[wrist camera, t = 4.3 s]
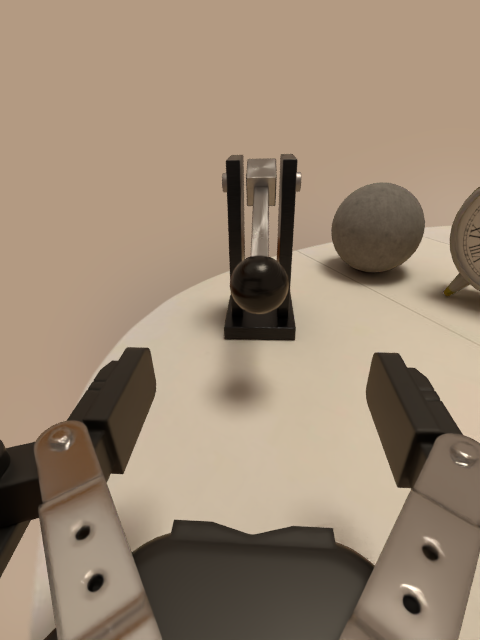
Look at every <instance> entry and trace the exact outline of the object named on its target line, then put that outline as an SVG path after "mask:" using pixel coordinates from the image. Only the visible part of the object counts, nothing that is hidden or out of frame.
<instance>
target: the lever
mask: <svg viewBox="0 0 480 640" xmlns="http://www.w3.org/2000/svg"><path fill="white" fill-rule="evenodd" d="M246 186H247V206H253V217H252V238H251V257H248V258H246V259H244V260H243V261H241V262H240V263H239V264H238V265H237V266H236V268H235V269H234V271H233V273H232V276H231V280H230V290H231V294H232V297H233V299H234V300H235V302H236V303H237V305H239V306H240V307H241V308H242V309H243V310H245V311H247V312H250V313H253V314H265V313H269V312H271V311H273V310H275V309H276V308H278V307H279V306H280V305H281V304H282V303H283V301H284V300H285V298H286V295H287V293H288V287H289V282H288V276H287V274H286V271H285V269H284V268H283V267H282V265H281V264H280V263H279V262H277V261H276V260H275V259H273V258H271V257H269V206H275V199H276V159H275V158H273V159H248V161H247V175H246Z"/></svg>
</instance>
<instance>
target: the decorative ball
mask: <svg viewBox="0 0 480 640" xmlns="http://www.w3.org/2000/svg"><path fill="white" fill-rule="evenodd" d="M424 227H425V220H424V214H423V210H422V208H421V205H420V203H419V202H418V200H417V199H416V198H415V196H414V195H413V194H412V193H410V192H409V191H408V190H406V189H405V188H403V187H401V186H398V185H395V184H391V183H374V184H370V185H366V186H364V187H361V188H359V189H357V190H356V191H354V192H353V193H351V194H350V195H349V196H348V197H347V198H346V199H345V200H344V201H343V202H342V204H341V205H340V206H339V208H338V210H337V212H336V214H335V216H334V219H333V223H332V241H333V244H334V247H335V250H336V251H337V253H338V255H339V256H340V257H341V259H342V260H343V261H345V262H346V263H347V264H348V265H350V266H351V267H353V268H355V269H358V270H361V271H365V272H383V271H387V270H390V269H393V268H395V267H397V266H399V265H401V264H402V263H404V262H405V261H406V260H408V259H409V258H410V257H411V256H412V255H413V253H414V252H415V251H416V249H417V248H418V246H419V244H420V242H421V240H422V237H423V233H424Z"/></svg>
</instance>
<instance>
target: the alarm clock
mask: <svg viewBox="0 0 480 640" xmlns="http://www.w3.org/2000/svg"><path fill="white" fill-rule="evenodd" d="M450 251H451V255H452V259H453V262H454V264H455V266H456V268H457V270H458V272H459V274H458V275H457V276H456V278H455V279H454V280H453V281H452V282H451V283H450V284H449V286H448V287H447V288H446V289H445V290H444V291H443V292H444V294H445V295H446V296H450V295H452V294H454V293H456V292H457V291H459V290H461V289H463V288H465V287H466V286H468V285H472V286H473V287H474V288H475V289H477V290H479V291H480V187H478V188H477V189H476V190H475V191H474V192H473V193H472V194H471V195H470V196H469V198H468V199H467V200H466V201H465V202H464V204H463V205H462V207H461V208H460V210H459V211H458V213H457V215H456V217H455V220H454V222H453V225H452V228H451V234H450Z"/></svg>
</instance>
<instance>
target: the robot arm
mask: <svg viewBox="0 0 480 640" xmlns="http://www.w3.org/2000/svg"><path fill="white" fill-rule="evenodd" d="M155 392H156V379H155V373H154V368H153V363H152V357H151V352H150V350H149V348H134V347H128V348H126V349H125V351H124V352H123V354H122V356H121V357H120V359H119V361H111V362H110V363H109V364H107V365H106V366H105V367H103V368H102V369H101V370H100V371H99V373H98V374H97V376H96V377H95V379H94V382H92V383H91V385H90V386H89V388H88V390H87V391H86V392H85V394H84V395H83V397H82V398H81V400H80V401H79V403H78V404H77V406H76V407H75V409H74V410H73V412H72V413H71V415H70V416H69V418H68V419H67V421H65V422H60V423H58V424H55V425H53V426H51V427H50V428H48V429H47V430H45V431H44V432H43V433H42V434H41V435H40V436H39V437H38V439H37V440H36V442H33V443H29V444H24V445H19V446H15V447H10V448H5V446H4V444H3V442H2V441H1V440H0V577H1V576H2V573H3V571H4V570H5V568H6V566H7V564H8V562H9V560H10V559H11V557H12V555H13V553H14V551H15V549H16V547H17V545H18V543H19V542H20V540H21V538H22V536H23V534H24V532H25V530H26V528H27V527H28V525H29V523H30V521H31V520H33V519H36V518H39V519H40V525H41V532H42V539H43V545H44V552H45V558H46V565H47V572H48V578H49V585H50V591H51V598H52V605H53V611H54V618H55V624H56V628H55V629H54V630H53V631H52V632H51V633H50V634H49V635H48V636H47V637H46V638H45V639H44V640H458V638H459V634H460V630H461V626H462V622H463V618H464V614H465V610H466V606H467V602H468V598H469V594H470V589H471V585H472V581H473V577H474V573H475V569H476V565H477V561H478V557H479V553H480V443H479V442H477V441H475V440H473V439H471V438H469V437H467V436H464V435H463V434H462V433H461V431H460V430H459V428H458V426H457V425H456V423H455V422H454V420H453V418H452V417H451V415H450V414H449V412H448V410H447V409H446V407H445V406H444V404H443V402H442V401H440V398H439V396H438V395H437V393H436V391H434V388H433V387H432V385H431V383H430V382H429V380H428V379H427V377H425V376H424V375H423V374H422V373H420V372H419V371H418V370H417V369H415V368H407V367H406V365H405V363H404V361H403V360H402V358H401V356H400V355H399V354H398V353H374V355H373V358H372V362H371V367H370V372H369V377H368V381H367V386H366V399H367V404H368V407H369V410H370V412H371V415H372V418H373V421H374V423H375V426H376V429H377V432H378V435H379V437H380V440H381V443H382V446H383V449H384V451H385V454H386V457H387V460H388V462H389V465H390V468H391V471H392V474H393V476H394V479H395V482H396V485H397V487H399V488H411V491H410V493H409V495H408V497H407V499H406V501H405V503H404V505H403V508H402V510H401V512H400V514H399V516H398V518H397V520H396V522H395V524H394V527H393V529H392V531H391V533H390V535H389V537H388V539H387V541H386V544H385V546H384V548H383V550H382V552H381V554H380V556H379V558H378V561H377V563H376V565H375V566H374V565H373V564H372V563H371V562H370V561H369V560H367V559H366V558H365V557H363V556H362V555H361V554H359V553H357V552H356V551H354V550H352V549H351V548H349V547H346V546H344V545H342V544H340V543H337V542H335V539H334V533H333V528H319V527H300V526H291V527H287V528H282V529H278V530H273V531H269V532H264V533H260V534H254V535H251V534H247V533H244V532H241V531H238V530H235V529H232V528H229V527H226V526H223V525H220V524H217V523H214V522H206V521H187V520H174V523H173V527H172V531H171V533H169V534H165V535H162V536H160V537H157V538H155V539H153V540H151V541H149V542H147V543H145V544H144V545H142V546H140V547H139V548H137V549H136V550H135V551H134V552H132V553H131V550H130V547H129V545H128V542H127V539H126V536H125V533H124V531H123V528H122V525H121V522H120V519H119V516H118V514H117V511H116V508H115V505H114V502H113V500H112V497H111V494H110V491H109V488H108V486H107V481H108V479H109V476H110V474H123V473H124V471H125V468H126V466H127V464H128V461H129V459H130V456H131V454H132V451H133V449H134V446H135V444H136V441H137V439H138V436H139V434H140V431H141V429H142V427H143V424H144V422H145V419H146V417H147V414H148V412H149V409H150V407H151V404H152V402H153V399H154V397H155Z"/></svg>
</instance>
